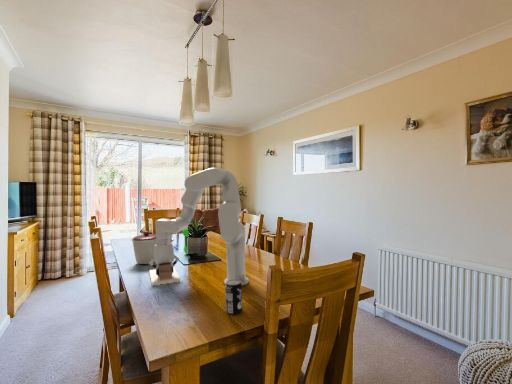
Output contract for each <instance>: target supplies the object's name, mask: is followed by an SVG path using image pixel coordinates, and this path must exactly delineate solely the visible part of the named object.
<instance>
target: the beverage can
mask: <svg viewBox="0 0 512 384" xmlns="http://www.w3.org/2000/svg"><path fill="white" fill-rule="evenodd" d="M224 288H225V289H224V293H225V294H224V295H225V296H224V297H225V312H226V313H227V314H228V315H231V316H232V315H234V316H235V315H239V314H240V313H242V311H243V286H242V284H241V281H240V280H237V279H232V280H228V281H227V282H226V284H225V287H224Z"/></svg>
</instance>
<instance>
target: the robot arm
mask: <svg viewBox="0 0 512 384" xmlns="http://www.w3.org/2000/svg"><path fill="white" fill-rule="evenodd" d="M185 178H186V179H184V184H183V185H184V188H185V191H184V193H183V195H182V196H181V198H180V202H181V203H182V209H181V211H180V213H179V214H178V217H176V218H173V219H169V218H159V219H156V220H155V235H156V245H155V247H154V258H153V259H152V260H151V261H150V262H149V264H148V265H150V266H151V267H153V268H154V269H156V275H158V277H159V268H158V267H159V265H160V264H163V263H170V264H171V266H172V273H173V267H174V268H175V265H176V264H177V263H178V262H179V261H180V258H179V257H178V256H176V255H175V252H174V251H175V250H174V245H173V243H172V242H174V241H175V240H174V238H172V234H173V235H174V234H177V233H180V232H183V230H185V229H186V228H187V227H188V225H189V224H190V222H191V220H193V218H194V216H195V211H196V208H197V205H198V203H199V201H200V198H201V197H202V196H203V193H204V191H205V190H206V189H207V188H209V187H213V186H217V185H218V186H219V185H220V186H221V187H222V188H221V189H222V191H221V194H222V201H223V202H222V203H221V204H220V205H219V207H218V210H217V211H218V212H217V213H218V215H217V216H218V223H219V231H220V237H221V239H222V240H223V242H225V243H226V244H225V245H226V246H225V247H226V248H225V249H226V250H225V251H226V254H225V255H226V278H225V279H224V280H223V283H224V284H225V285H226V282H227V281H228V280H232V279H237V280H240V281H241V284H242V287H243V286H245V285H247V284H248V283H249V281H250V280H249V278H248V277H247V276H246V228H245V225H244V224H243V222H241V221H239V217H240V215H241V214H242V206H241V205H242V204H241V198H240V192H239V191H240V190H239V184H238V180H237V178H236V176H235V175H234V174H233V172H231V171H229V170H227V169H225V168H222V167H221V168H219V167H209V168H206V169H204V170H201V171H198V172H195V173H193V174H190V175H188V176H186V177H185ZM153 262H155V263H153Z"/></svg>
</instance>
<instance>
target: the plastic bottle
mask: <svg viewBox="0 0 512 384" xmlns="http://www.w3.org/2000/svg"><path fill="white" fill-rule="evenodd" d="M193 221H194V220H193V219H192V220H191V222H190V224H192V225H193V223H194V222H193ZM188 233H189V231H188V227H187V228H186V229H185V230H183V231H182V235H183V236H184V247H183V252H184V254H186V255H187V238H188Z"/></svg>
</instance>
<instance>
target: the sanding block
mask: <svg viewBox="0 0 512 384" xmlns="http://www.w3.org/2000/svg"><path fill="white" fill-rule="evenodd" d="M158 268H159V279H160V280H166V279H172V266H171V264H170V263H163V264H160V265H159V267H158Z"/></svg>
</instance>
